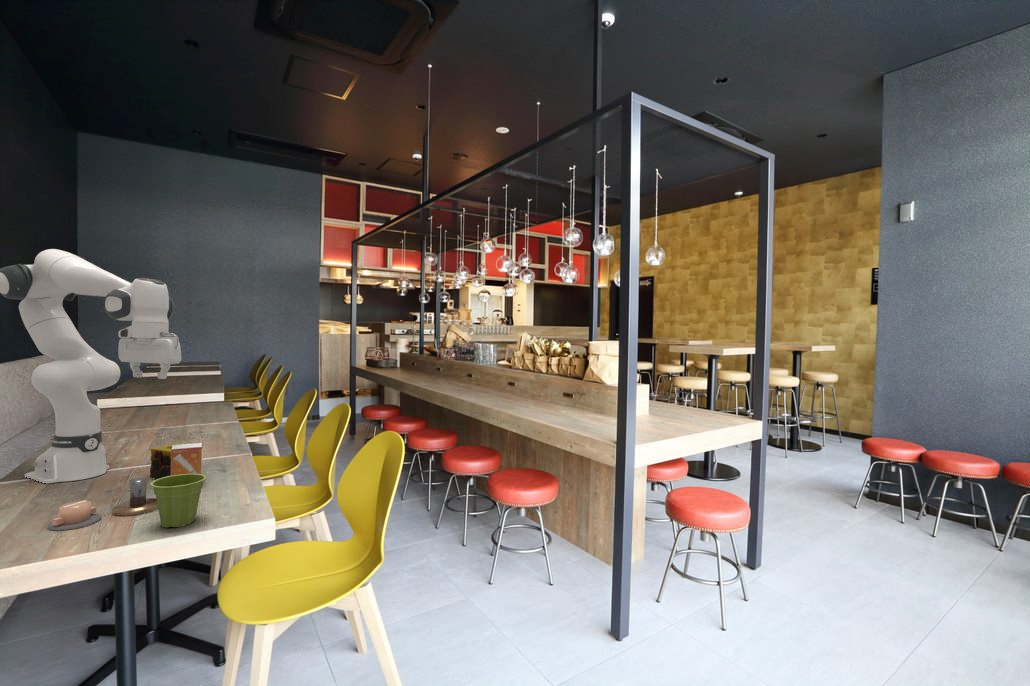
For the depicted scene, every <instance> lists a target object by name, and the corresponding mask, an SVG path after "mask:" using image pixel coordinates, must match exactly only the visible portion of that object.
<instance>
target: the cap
mask: <svg viewBox="0 0 1030 686" xmlns="http://www.w3.org/2000/svg"><path fill="white" fill-rule="evenodd" d="M93 513H97V506H92V501H89V500H77V501H76V500H75V501H70V502H68V503H64V504H62V505H60V506H59V507H58V517H56V518H52V519H51V522H52V525H56V526H57V525H72V524H78V523H82V522H85V521H87V520H89V519H90V518H91V514H93Z"/></svg>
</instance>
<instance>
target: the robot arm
mask: <svg viewBox="0 0 1030 686" xmlns="http://www.w3.org/2000/svg"><path fill="white" fill-rule="evenodd" d="M0 295H1V296H2V297H4V298H6V299H9V300H21V301H20V302H19V305H18V310H19V314H20V317H21V321H22V322H23V326H24V327H25V329H26V330H27V332H28V334H29V336H30V338H31V339H32V341H33V342H34V344H35V346H36V348H37V349H38V351H39V352H40V353H41V354H43V355H44V356H46V357H49V358H51V359H53V360H54V361H49V362H46V363H42V364H40V365H38V366H36V367H35V369H34V370H33V371H32V373H31V384H32V386H33V388H34V389H35V390H36V391H37V392H38V393H40V394H42V395H44V396H45V397H46V398H47V400H48V401H49V402H50V404H51V406H52V407H53V411H54V416H55V417H54V420H55V421H54V422H55V435H52V436H50V437H49V438H51V439H49V440H50V441H51V443H50V447H49V448H48V449H47V450H45V451H44V452H43V453H42V454H40V455H39V456H37V458H35V462H34V470H32V471H29V472H26V473H24V478H26V477H27V478H26V479H29V478H31V479H30V480H32V479H34V480H33V481H35V480H36V481H35V482H38V481H39V483H41V482H42V483H41V484H44V483H46V484H53V483H60V482H61V483H62V482H72V481H80V480H85V479H90V478H91V479H92V478H95V477H98V476H101V475H104V474H105V473H107V470H108V469H109V470H110V465H109V464H107V460H106V459H107V457H106V450H105V449H106V448H105V446H104V445H103V444H102V442H103V432H102V430H101V413H102V412H101V409H100V407H99V406H97V405H96V404H93V403H92V402H91V401H90V400H89V398H88V394H87V392H90V391H92V392H94V391H99V390H104V389H106V388H108V387H112V386H114V385H116V384H117V383H118V382H119V380H120V377H121V369H120V366H119V365H118V364H117V363H116V362H115V361H113V360H110V359H109V358H106V357H105V356H103V355H102V354H100V353H99V352H97V351H96V350H95V349H94V348H92V347H91V346H90V345H89V344H88V343H87V342H86V341H85V340H84V338H83V337H82V336H81V334H80V332H79V331H78V330H77V328H76V327H75V325H74V323H73V321H72V319H71V318H70V317H69V315H68V314H67V311H65V308H64V307H63V302H64V301H67V302H71V301H73V300H74V298H75V297H76V296H78V295H81V296H90V297H92V296H93V297H105V298H104V299H103V308H104V311H105V313H106V315H107V316H108V317H110V318H111V319H112V320H118V321H122V322H123V321H126V322H127V321H129V322H131V325H129V326H127V327H125V328H122V329H120V330H119V331H118V338H120V339H119V341H118V346H117V347H118V351H117V352H118V353H117V354H118V359H119V361H120V362H121V363H129V367H130V369H131V371H132V377H133V378H143V372H144V371H142V370H141V368H140V366H141V364H142V363H143V364H159V368H160V370H159V371H160V372H157V377H156V378H157V379H158V380H166V379H167V378H168V372H169V370H170V369H171V365H177V364H178V365H179V364H180V363H181V361H182V349H181V344H180V341H179V337H178V336H177V335H176V334H175V333H173V332H169V330H170V329H169V327H170V324H169V323H170V322H169V320H170V319H171V317H172V316H173V315H174V312H175V307H176V306H175V305H176V304H175V303H174V300H173V299H172V297H171V296H170V295H169V289H168V285H167V284H166V283H165V282H164V281H162V280H159V279H153V278H148V277H147V278H146V277H136V278H135V279H134V280H133V281H132V282H131V281H129V280H127V279H124V278H122V277H120V276H117V275H115V274H114V273H111V272H109V271H107V270H106V269H105V270H104V269H102V268H101V267H99V266H97V265H95V264H94V263H92V262H89V261H87V260H86V259H84V258H83V257H81V256H78V255H76V254H73V253H71V252H69V251H65V250H61V249H57V248H50V249H49V248H48V249H45V250H42V251H40V252H39V253H38V254H37V255H36V256H35V259H34V263H33V264H22V263H18V264H12V265H8V266H4V267H1V268H0Z"/></svg>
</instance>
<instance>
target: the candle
mask: <svg viewBox="0 0 1030 686" xmlns="http://www.w3.org/2000/svg"><path fill="white" fill-rule="evenodd" d="M182 444H184V443H181V442H177V443H172V444H166V445H163V446H159V447H153V448H152V447H151V449H150V468H149V472H150V475H149V478H151V479H153V478H155V479H154V480H157V479H160V478H163V477H168V476H171V450H172V445H182Z"/></svg>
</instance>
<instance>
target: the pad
mask: <svg viewBox="0 0 1030 686" xmlns="http://www.w3.org/2000/svg"><path fill="white" fill-rule="evenodd" d="M101 519H102V515H101V514H100V513H97V512H96V513H93V514H91V518H90V519H89V520H87V521H85V522H82V523H78V524H72V525H57V526H56V525H52V521H51V522H49V523H48V524H47V530H48V531H53V532H65V531H72V529H73V530H77V528H78V529H81V527H82V528H85V527H84V526H86V527H88V525H89V526H91V524H92V525H94V524H96V523H98V522H100V521H101ZM97 521H98V522H97ZM64 530H65V531H64Z"/></svg>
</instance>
